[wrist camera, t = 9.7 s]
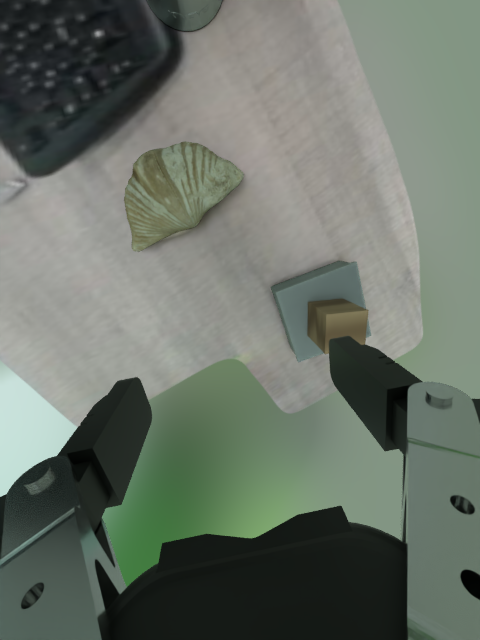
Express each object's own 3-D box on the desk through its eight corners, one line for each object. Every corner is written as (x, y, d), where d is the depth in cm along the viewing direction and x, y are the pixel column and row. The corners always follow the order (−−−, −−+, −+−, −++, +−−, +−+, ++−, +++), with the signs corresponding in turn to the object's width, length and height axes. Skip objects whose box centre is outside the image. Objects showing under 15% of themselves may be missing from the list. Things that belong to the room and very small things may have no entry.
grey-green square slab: (268, 285, 38) (275, 292, 33) (339, 258, 37) (356, 261, 32) (289, 348, 41) (298, 362, 36) (353, 324, 41) (371, 335, 36)
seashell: (147, 272, 30) (123, 200, 21) (115, 224, 33) (81, 144, 24) (240, 231, 35) (251, 160, 26) (204, 193, 38) (204, 117, 29)
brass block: (307, 301, 34) (326, 314, 28) (342, 298, 34) (368, 310, 28) (307, 335, 35) (324, 353, 29) (340, 331, 35) (364, 349, 30)
